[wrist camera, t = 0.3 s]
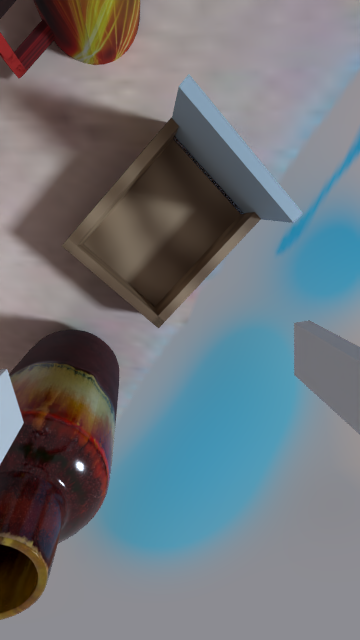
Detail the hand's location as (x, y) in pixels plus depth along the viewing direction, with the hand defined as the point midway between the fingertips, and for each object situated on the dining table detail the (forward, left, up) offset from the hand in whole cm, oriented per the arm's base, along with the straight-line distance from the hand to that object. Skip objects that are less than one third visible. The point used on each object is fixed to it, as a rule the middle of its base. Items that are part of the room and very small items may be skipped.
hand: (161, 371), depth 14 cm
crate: (-6, +1, -25) cm, 26 cm away
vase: (+12, -6, -26) cm, 29 cm away
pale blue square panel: (-14, +5, -18) cm, 24 cm away
